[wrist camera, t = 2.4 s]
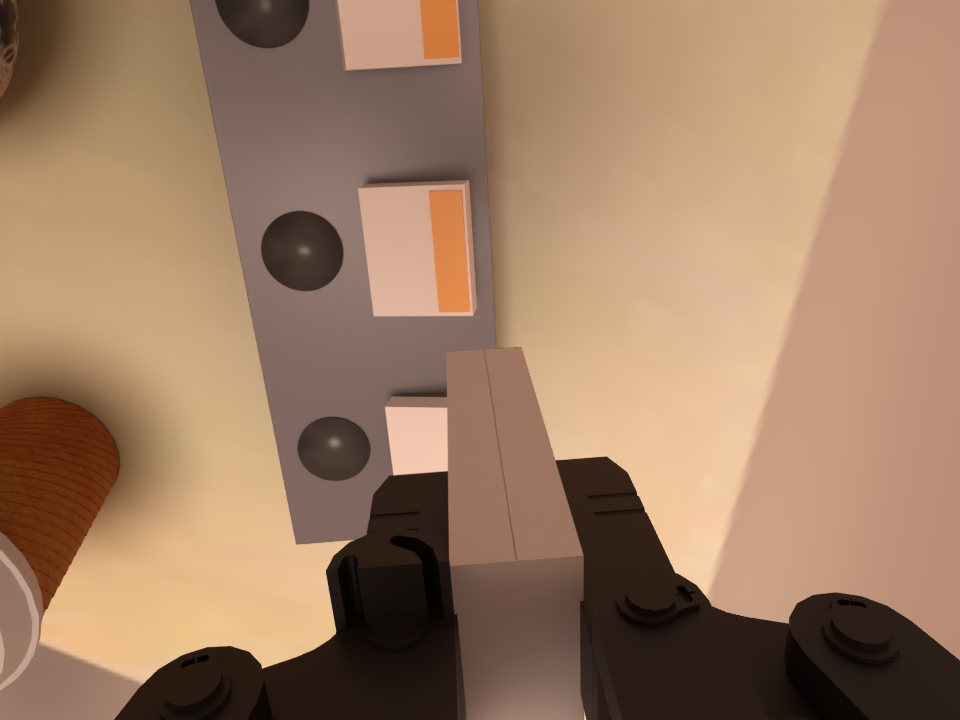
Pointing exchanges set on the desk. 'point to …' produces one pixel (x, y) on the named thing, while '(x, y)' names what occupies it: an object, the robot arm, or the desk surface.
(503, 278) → the desk surface
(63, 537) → the disposable coffee cup
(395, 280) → the middle rocker
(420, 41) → the rocker
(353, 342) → the power strip
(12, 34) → the decorative egg
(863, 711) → the robot arm
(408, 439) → the rocker
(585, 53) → the desk surface
